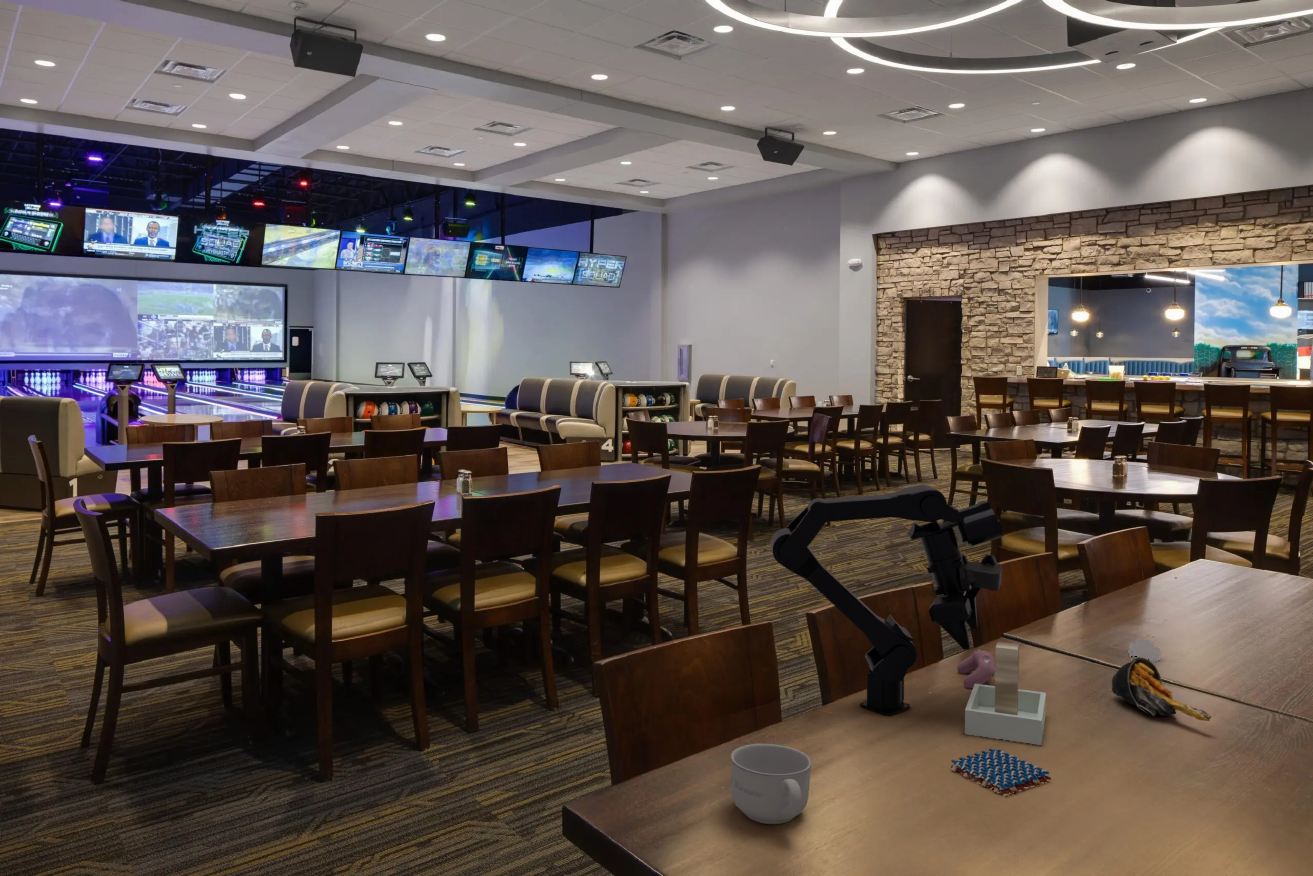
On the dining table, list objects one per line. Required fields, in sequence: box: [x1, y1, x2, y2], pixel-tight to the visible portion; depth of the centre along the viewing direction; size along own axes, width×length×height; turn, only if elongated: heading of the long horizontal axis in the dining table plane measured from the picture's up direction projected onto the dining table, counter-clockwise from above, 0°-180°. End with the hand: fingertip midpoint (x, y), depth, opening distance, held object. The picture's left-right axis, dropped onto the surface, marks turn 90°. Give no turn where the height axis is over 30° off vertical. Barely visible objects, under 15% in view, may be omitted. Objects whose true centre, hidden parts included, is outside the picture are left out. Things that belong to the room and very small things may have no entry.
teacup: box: [730, 743, 812, 825], centre depth 122 cm, size 14×11×8 cm
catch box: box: [964, 684, 1047, 745], centre depth 153 cm, size 14×12×4 cm
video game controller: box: [956, 648, 995, 689], centre depth 175 cm, size 10×5×7 cm, turn 170°
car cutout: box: [1127, 638, 1163, 664], centre depth 190 cm, size 15×7×4 cm, turn 39°
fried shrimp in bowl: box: [1111, 657, 1212, 722], centre depth 157 cm, size 9×11×18 cm
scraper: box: [994, 641, 1020, 715], centre depth 153 cm, size 8×3×13 cm, turn 155°
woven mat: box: [950, 748, 1052, 795], centre depth 134 cm, size 10×11×2 cm
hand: (970, 638), depth 160 cm, fingers open, 9 cm apart
